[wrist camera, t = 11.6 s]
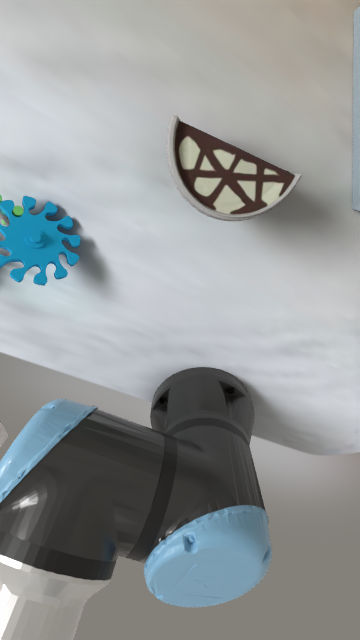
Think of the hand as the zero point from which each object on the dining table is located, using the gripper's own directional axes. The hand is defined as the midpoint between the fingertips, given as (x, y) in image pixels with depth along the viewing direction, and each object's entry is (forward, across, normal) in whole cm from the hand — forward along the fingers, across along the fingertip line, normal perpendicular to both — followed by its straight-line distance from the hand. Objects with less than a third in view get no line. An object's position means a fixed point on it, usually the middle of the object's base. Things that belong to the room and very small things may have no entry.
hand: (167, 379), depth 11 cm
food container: (+31, -5, -5) cm, 32 cm away
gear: (+31, +16, -4) cm, 35 cm away
